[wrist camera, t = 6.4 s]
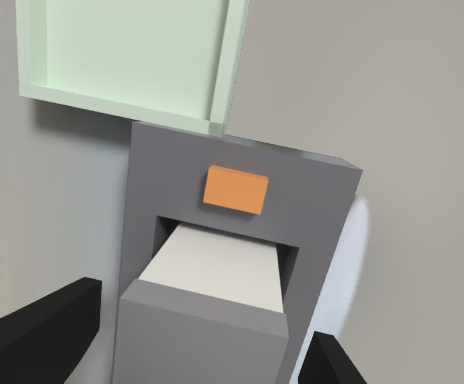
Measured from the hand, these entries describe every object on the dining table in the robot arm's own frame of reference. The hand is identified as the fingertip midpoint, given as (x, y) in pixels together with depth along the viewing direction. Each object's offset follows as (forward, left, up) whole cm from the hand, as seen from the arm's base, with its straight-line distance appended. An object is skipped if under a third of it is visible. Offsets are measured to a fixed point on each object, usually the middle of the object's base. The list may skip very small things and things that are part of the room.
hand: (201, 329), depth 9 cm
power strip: (0, -9, -5) cm, 10 cm away
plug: (0, 0, -4) cm, 4 cm away
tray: (-5, +10, -5) cm, 12 cm away
